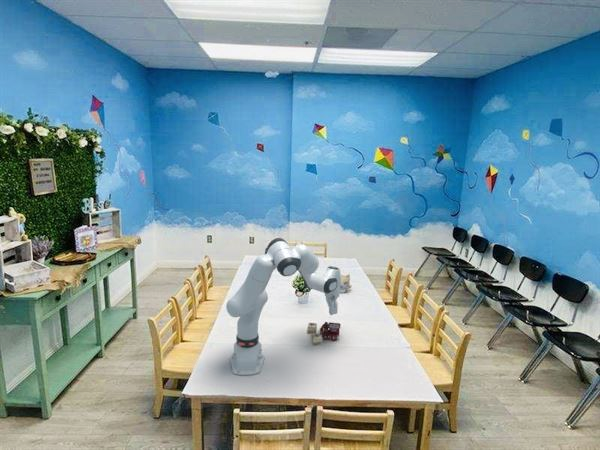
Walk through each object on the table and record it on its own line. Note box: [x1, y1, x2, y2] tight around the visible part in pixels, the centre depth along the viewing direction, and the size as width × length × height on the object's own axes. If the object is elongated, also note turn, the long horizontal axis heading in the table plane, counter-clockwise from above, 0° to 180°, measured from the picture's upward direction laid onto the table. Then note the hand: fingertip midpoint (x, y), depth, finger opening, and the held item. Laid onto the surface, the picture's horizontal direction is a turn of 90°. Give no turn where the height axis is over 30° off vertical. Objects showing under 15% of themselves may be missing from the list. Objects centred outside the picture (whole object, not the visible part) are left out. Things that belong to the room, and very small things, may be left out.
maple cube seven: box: [307, 322, 318, 335], centre depth 238 cm, size 5×5×5 cm
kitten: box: [339, 274, 353, 294], centre depth 299 cm, size 15×10×15 cm, turn 76°
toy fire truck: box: [319, 321, 341, 342], centre depth 231 cm, size 7×12×10 cm, turn 80°
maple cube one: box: [310, 332, 323, 347], centre depth 225 cm, size 5×5×5 cm
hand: (330, 313), depth 229 cm, fingers closed
